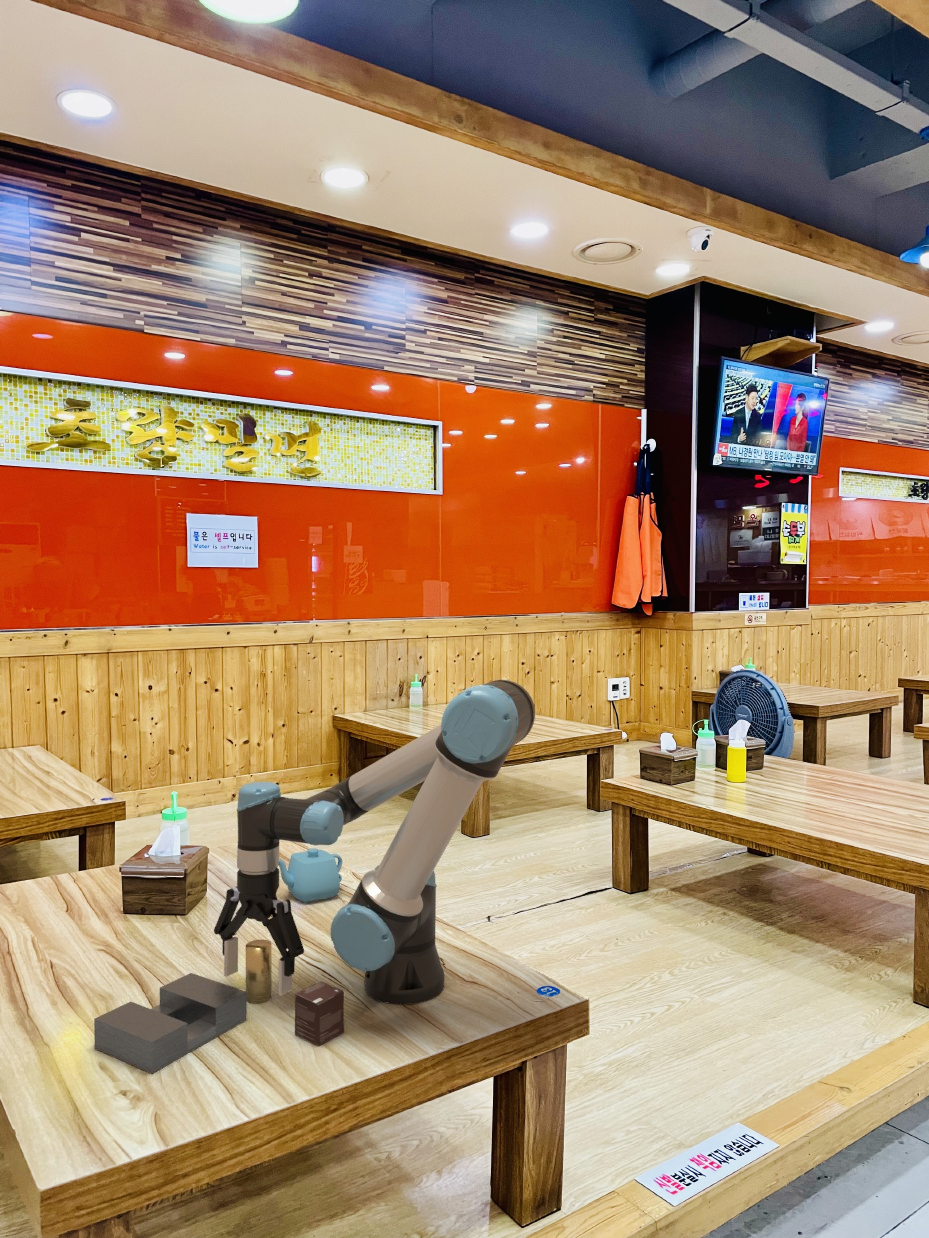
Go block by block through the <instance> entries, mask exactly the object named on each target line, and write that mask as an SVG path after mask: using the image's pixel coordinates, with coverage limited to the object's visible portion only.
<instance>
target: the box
mask: <svg viewBox="0 0 929 1238" xmlns="http://www.w3.org/2000/svg"><path fill="white" fill-rule="evenodd" d="M294 995H295V996H294V1034H295V1035H294V1036H295V1037H297V1038H300V1039H303V1040H304V1041H307V1042H308V1043H311V1044H312V1045H313V1046H316V1047H320V1046H321V1045H322V1044H325V1043H326V1042H329V1041H330V1040H332V1039H333V1038H335V1037H338V1036H339V1035H341V1034H343V1033H344V1032H345V1005H344V1004H345V1003H344V1002H345V996H344V995H345V991H344V990H343V989H340V988H338V987H336V986H333V985H331V984H328V983H326V982H323V981H319V982H317V983H315V984H312V985H310V986H308V987H305V988H304V989H301V990H300V991H297V992H295V993H294Z"/></svg>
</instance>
